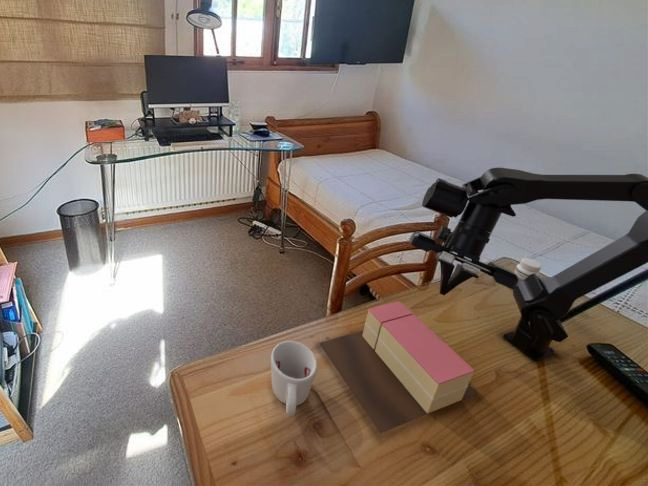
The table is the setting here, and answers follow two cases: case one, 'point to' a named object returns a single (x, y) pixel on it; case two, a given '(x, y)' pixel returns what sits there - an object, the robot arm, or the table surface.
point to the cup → (292, 373)
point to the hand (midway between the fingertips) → (441, 294)
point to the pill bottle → (527, 268)
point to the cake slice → (382, 320)
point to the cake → (423, 363)
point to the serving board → (374, 382)
